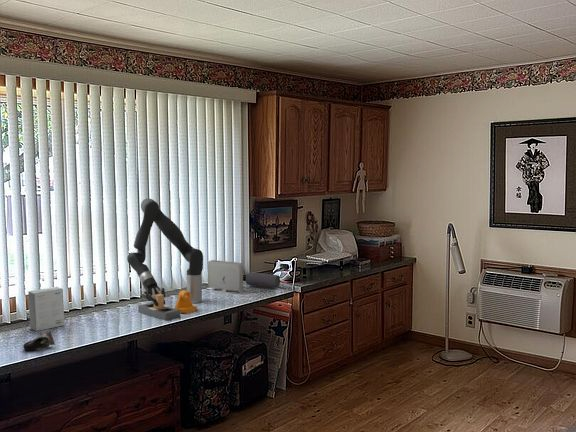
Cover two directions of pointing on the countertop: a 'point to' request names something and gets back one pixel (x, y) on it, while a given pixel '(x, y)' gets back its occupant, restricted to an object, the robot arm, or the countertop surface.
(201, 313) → the countertop surface
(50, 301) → the hard drive box
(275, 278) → the bluetooth speaker
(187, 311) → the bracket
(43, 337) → the caster wheel
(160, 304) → the peg
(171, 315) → the rail
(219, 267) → the network device
